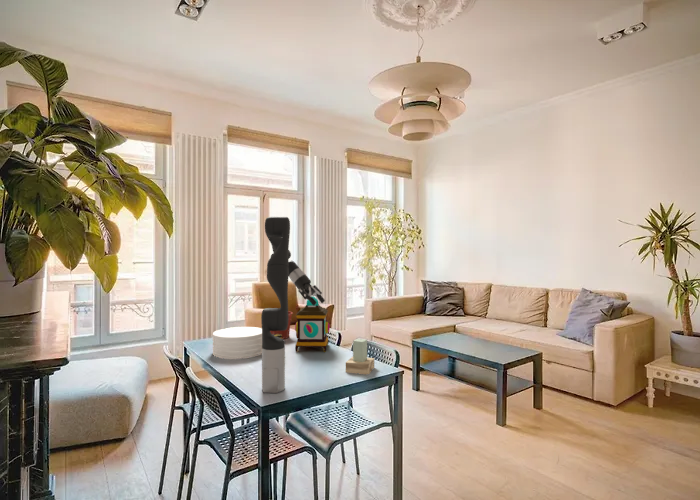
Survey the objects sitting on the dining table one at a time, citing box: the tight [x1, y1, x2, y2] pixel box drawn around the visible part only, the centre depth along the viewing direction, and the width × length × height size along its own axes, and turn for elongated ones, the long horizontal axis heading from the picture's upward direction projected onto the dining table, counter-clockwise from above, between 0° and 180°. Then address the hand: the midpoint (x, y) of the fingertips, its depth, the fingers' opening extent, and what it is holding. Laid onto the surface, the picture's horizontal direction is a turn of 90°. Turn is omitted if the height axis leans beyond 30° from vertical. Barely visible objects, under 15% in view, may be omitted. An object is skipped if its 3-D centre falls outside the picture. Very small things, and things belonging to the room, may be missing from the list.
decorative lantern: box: [294, 296, 330, 353], centre depth 229 cm, size 20×20×30 cm
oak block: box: [345, 356, 375, 375], centre depth 189 cm, size 11×11×5 cm
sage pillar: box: [352, 338, 368, 362], centre depth 189 cm, size 5×5×10 cm
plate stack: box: [212, 326, 262, 360], centre depth 221 cm, size 28×28×12 cm
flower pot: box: [270, 310, 293, 340], centre depth 256 cm, size 16×16×16 cm
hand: (319, 303), depth 197 cm, fingers open, 8 cm apart
